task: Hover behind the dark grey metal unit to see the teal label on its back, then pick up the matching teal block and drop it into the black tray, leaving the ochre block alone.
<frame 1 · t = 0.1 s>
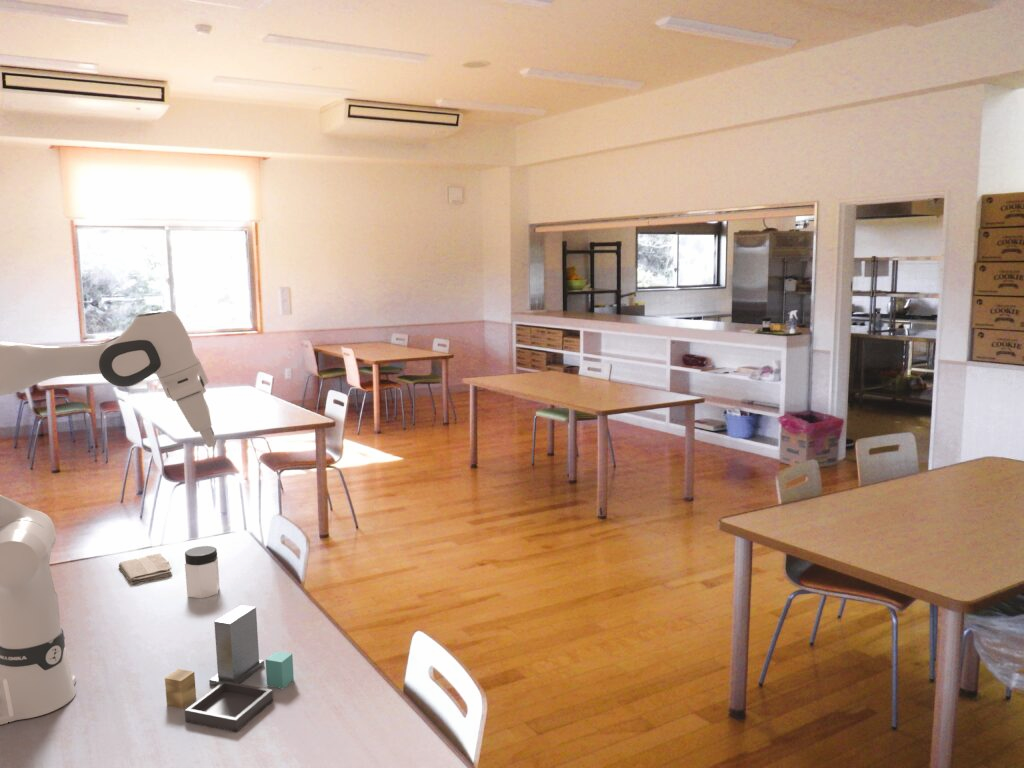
hand: (211, 441, 177), 52 cm above the table, tool tilted 20°, fingers open, 8 cm apart
black tray: (230, 711, 167), on the table
jar: (203, 593, 228), on the table
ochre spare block: (181, 702, 171), on the table
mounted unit: (237, 674, 182), on the table
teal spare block: (280, 682, 178), on the table
washcloth: (146, 573, 244), on the table
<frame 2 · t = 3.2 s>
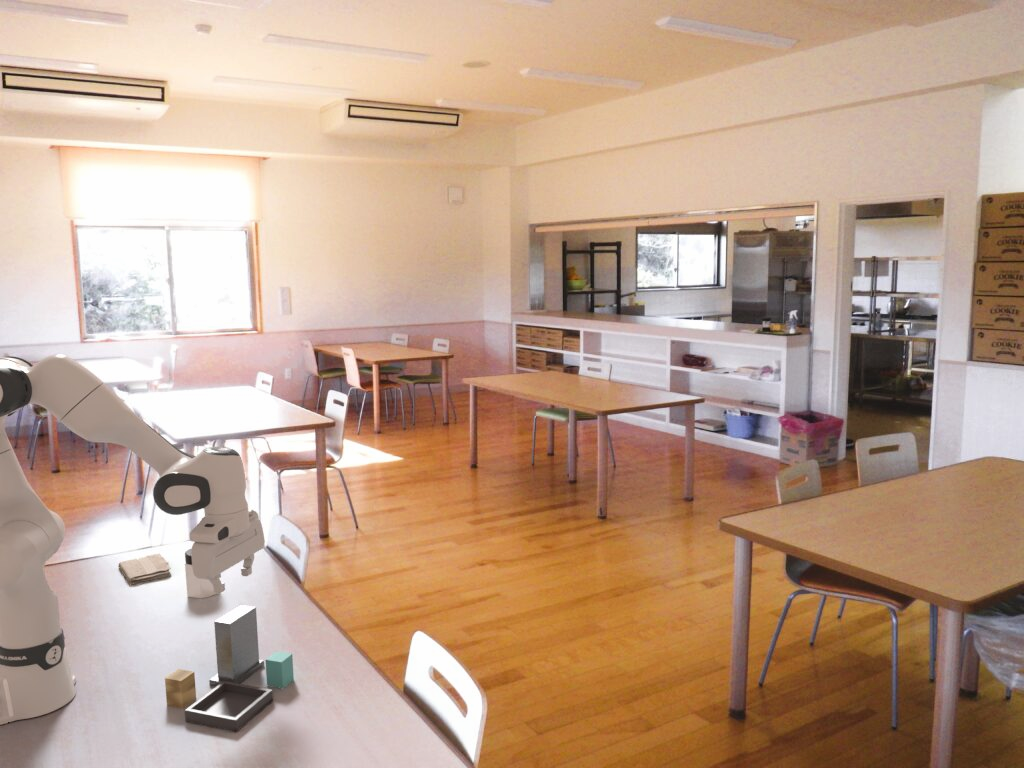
hand: (233, 583, 179), 21 cm above the table, tool pointing down, fingers open, 8 cm apart
nothing on the table moved.
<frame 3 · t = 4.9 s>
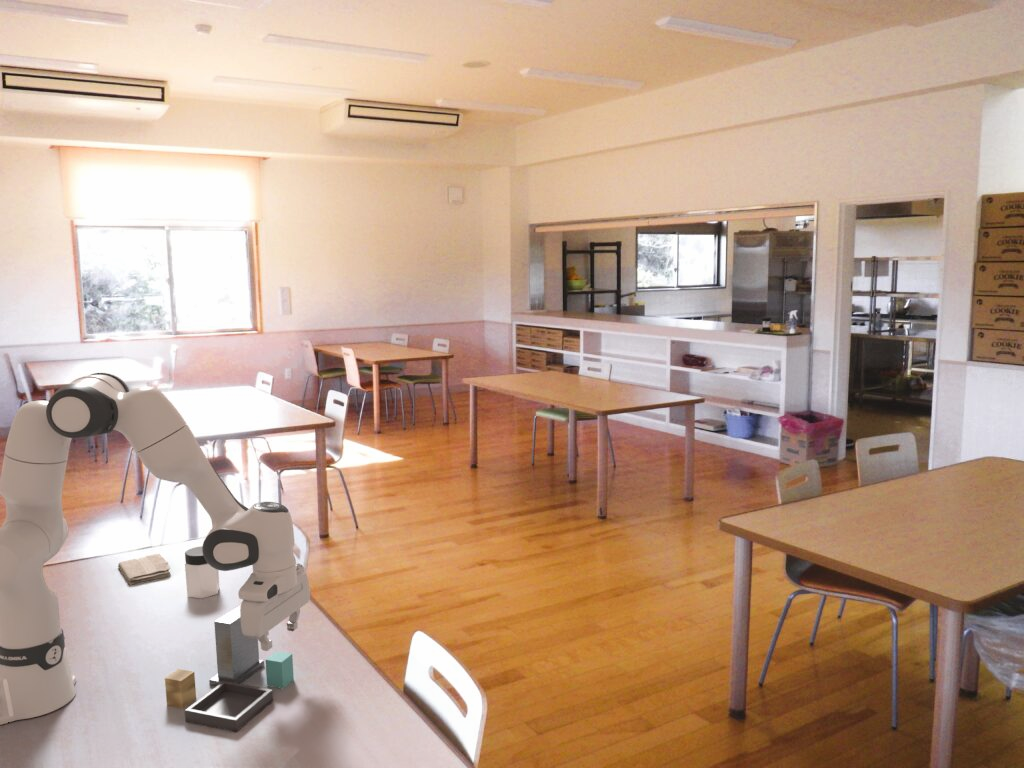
hand: (280, 639, 177), 10 cm above the table, tool pointing down, fingers open, 8 cm apart
nothing on the table moved.
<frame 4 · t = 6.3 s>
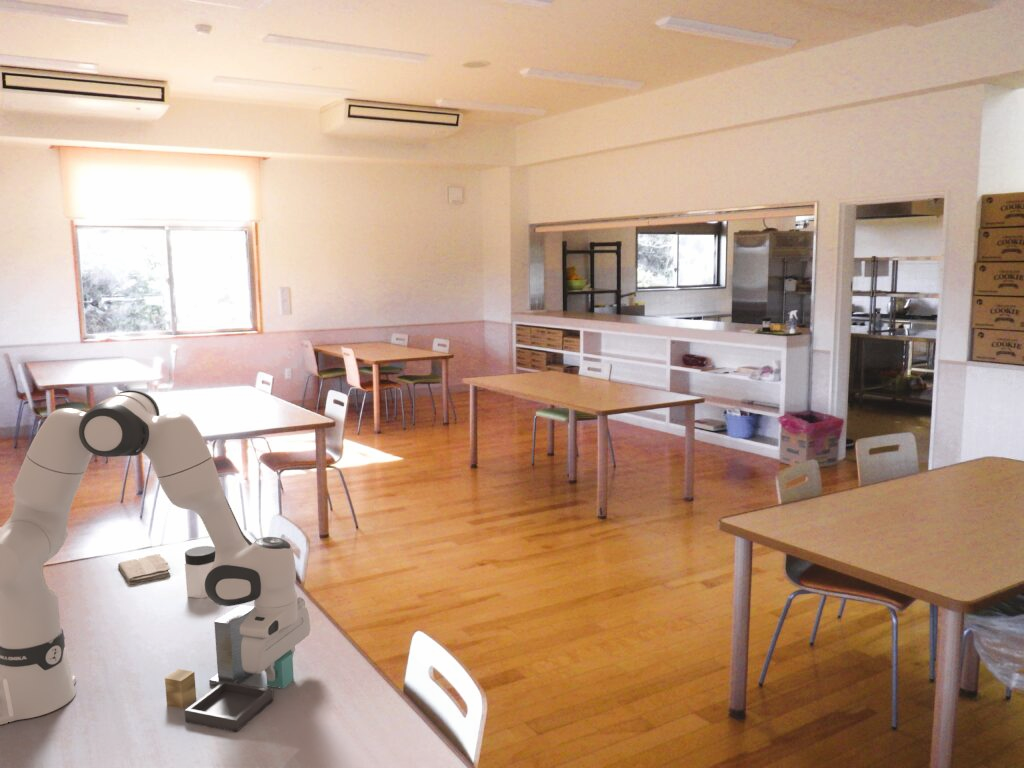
hand: (279, 673, 178), 2 cm above the table, tool pointing down, fingers closed on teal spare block, 4 cm apart
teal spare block: (280, 682, 178), on the table, touching gripper
everything else where it was.
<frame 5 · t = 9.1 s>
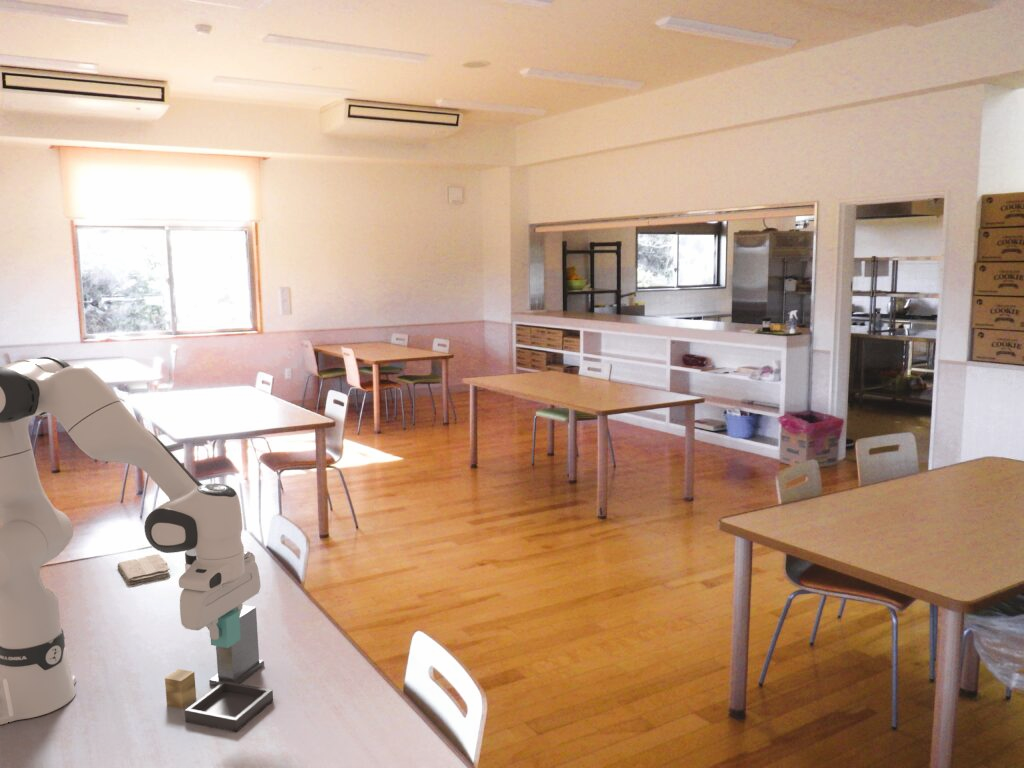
hand: (225, 632, 165), 17 cm above the table, tool pointing down, fingers closed on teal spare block, 4 cm apart
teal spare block: (225, 642, 165), point 15 cm above the table, touching gripper
everything else where it was.
when the fingers open (5 cm above the table, at t = 11.8 s): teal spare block drops 2 cm, resting on black tray.
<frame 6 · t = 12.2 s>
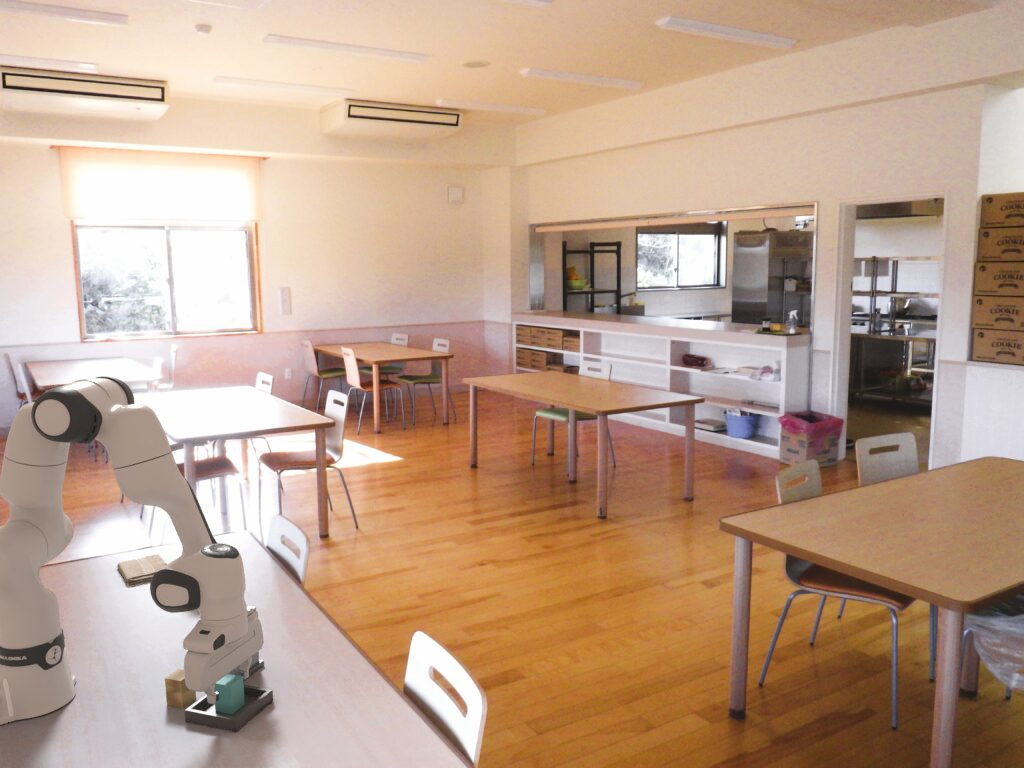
hand: (228, 690, 166), 5 cm above the table, tool pointing down, fingers open, 8 cm apart
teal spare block: (230, 707, 167), point 1 cm above the table, touching black tray
everything else where it was.
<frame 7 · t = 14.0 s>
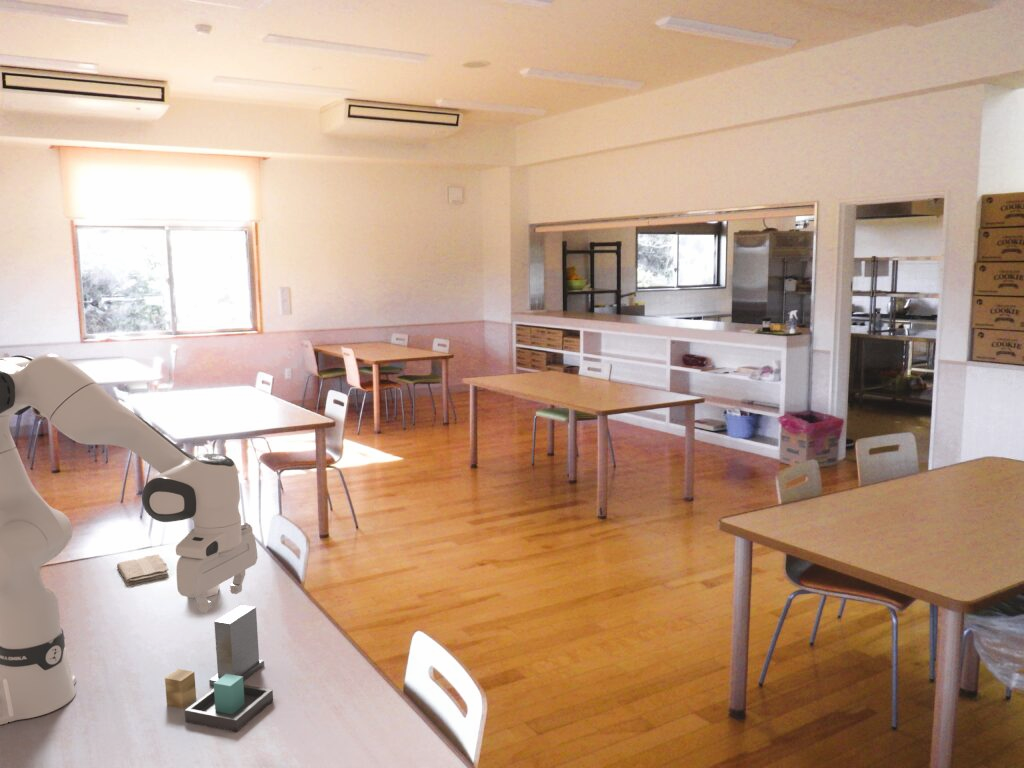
hand: (221, 601, 166), 22 cm above the table, tool pointing down, fingers open, 8 cm apart
nothing on the table moved.
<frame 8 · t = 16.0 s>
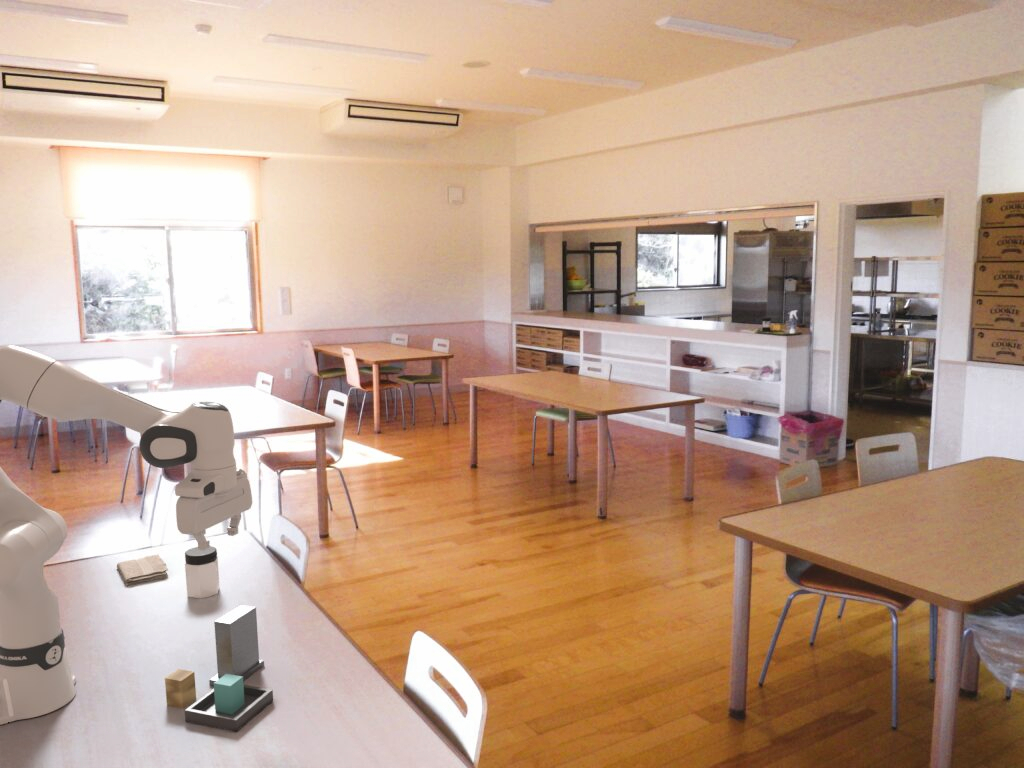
hand: (218, 541, 176), 31 cm above the table, tool pointing down, fingers open, 8 cm apart
nothing on the table moved.
at the end: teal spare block inside the target area on the black tray (0.0 cm from its centre), point 0.8 cm above the black tray's base; the gripper is holding nothing; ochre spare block moved 0.1 cm from its start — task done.
